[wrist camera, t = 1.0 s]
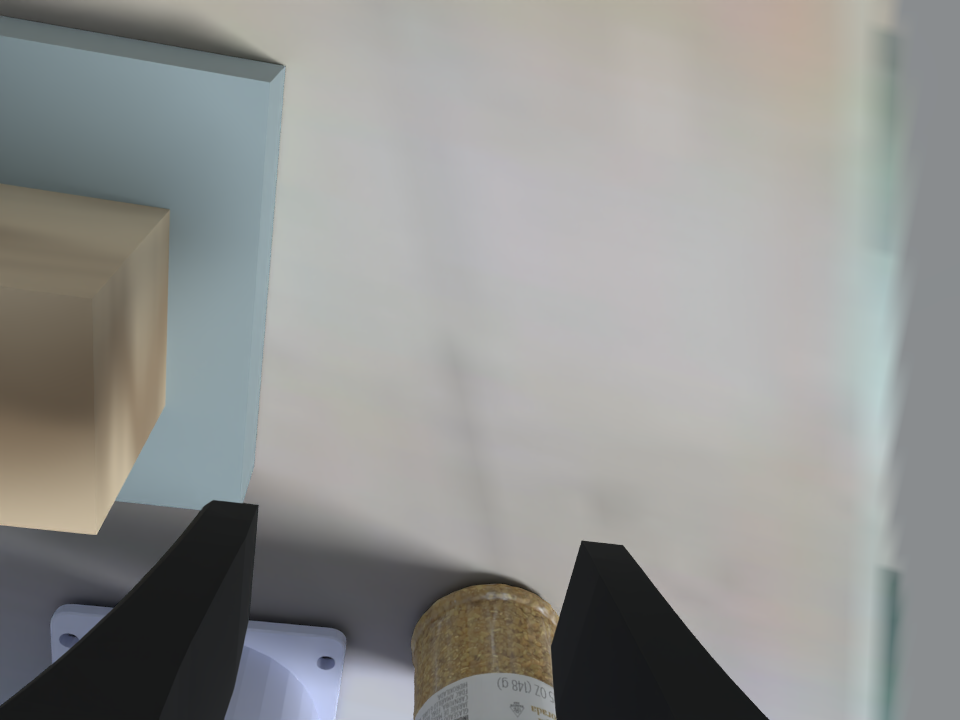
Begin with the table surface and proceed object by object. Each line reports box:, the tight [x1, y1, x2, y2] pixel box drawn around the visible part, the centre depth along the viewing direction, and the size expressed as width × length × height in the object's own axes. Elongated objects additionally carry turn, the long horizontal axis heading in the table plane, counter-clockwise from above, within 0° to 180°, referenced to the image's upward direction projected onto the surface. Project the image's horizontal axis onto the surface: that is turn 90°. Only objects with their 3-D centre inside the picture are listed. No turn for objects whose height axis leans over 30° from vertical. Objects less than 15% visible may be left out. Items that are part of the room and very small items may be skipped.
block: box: [0, 183, 170, 535], centre depth 16 cm, size 4×4×4 cm
